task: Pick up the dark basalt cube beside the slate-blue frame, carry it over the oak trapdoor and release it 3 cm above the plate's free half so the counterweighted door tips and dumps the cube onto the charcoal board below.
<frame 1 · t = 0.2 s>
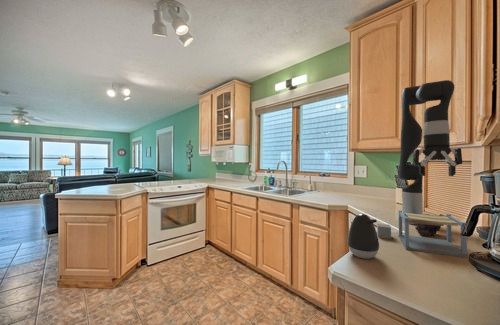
hand: (436, 175, 82), 29 cm above the countertop, fingers open, 8 cm apart
rock: (427, 234, 102), on the countertop
trapdoor: (427, 221, 88), point 10 cm above the countertop, hinge at 0.0°
penguin figurine: (363, 256, 78), on the countertop
basalt cube: (383, 236, 99), on the countertop
trapdoor frame: (426, 242, 90), on the countertop
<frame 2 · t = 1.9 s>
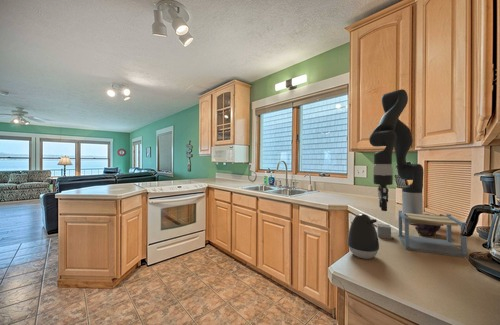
hand: (383, 209, 99), 12 cm above the countertop, fingers open, 8 cm apart
nothing on the countertop moved.
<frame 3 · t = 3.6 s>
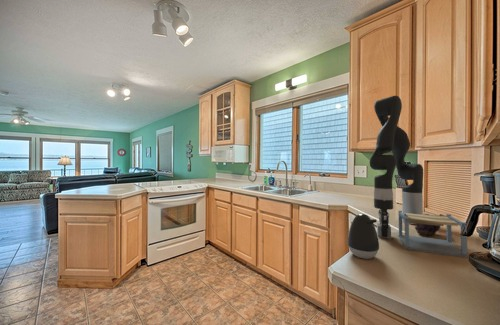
hand: (383, 234, 99), 1 cm above the countertop, fingers closed on basalt cube, 5 cm apart
basalt cube: (383, 236, 99), on the countertop, touching gripper
everything else where it was.
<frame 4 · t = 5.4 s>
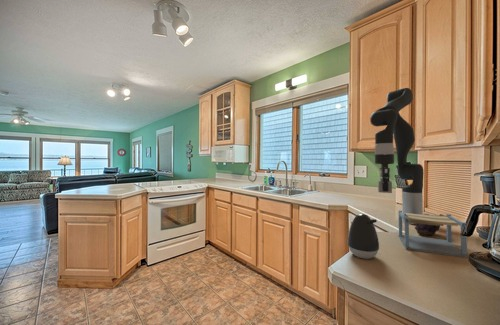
hand: (384, 190, 98), 21 cm above the countertop, fingers closed on basalt cube, 5 cm apart
basalt cube: (384, 192, 98), point 20 cm above the countertop, touching gripper
everything else where it was.
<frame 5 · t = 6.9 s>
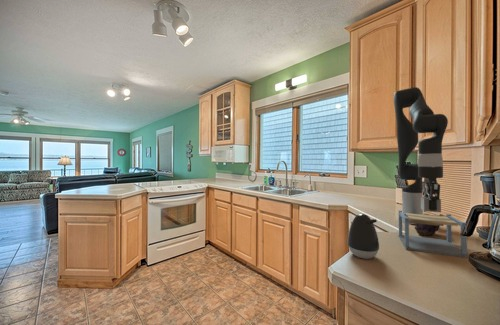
hand: (430, 208, 84), 16 cm above the countertop, fingers closed on basalt cube, 5 cm apart
basalt cube: (430, 210, 84), point 15 cm above the countertop, touching gripper
everything else where it was.
when the fingers open (14 cm above the countertop, at t = 7.5 s): basalt cube drops 7 cm and tips over, resting on trapdoor.
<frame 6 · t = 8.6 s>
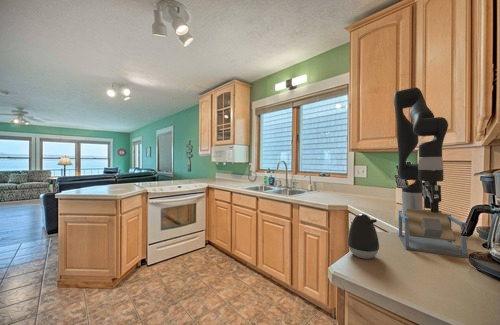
hand: (431, 210, 84), 15 cm above the countertop, fingers open, 8 cm apart
trapdoor: (426, 224, 89), point 8 cm above the countertop, hinge at -41.5°, touching basalt cube
basalt cube: (430, 231, 85), point 6 cm above the countertop, tilted 42°, touching trapdoor
everything else where it was.
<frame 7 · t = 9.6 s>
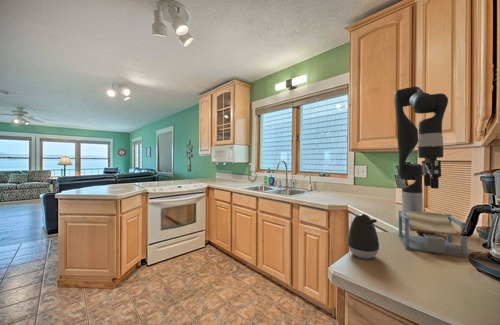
hand: (431, 187, 84), 24 cm above the countertop, fingers open, 8 cm apart
trapdoor: (427, 223, 88), point 8 cm above the countertop, hinge at -22.9°
basalt cube: (431, 241, 83), point 3 cm above the countertop, tilted 90°, touching trapdoor frame
everything else where it was.
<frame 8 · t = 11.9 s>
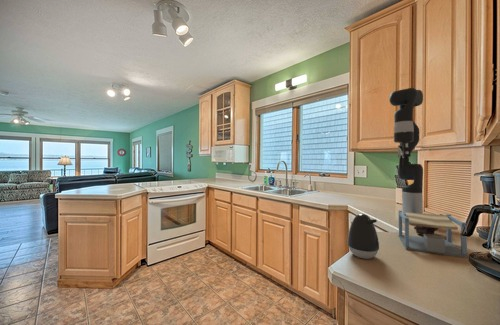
hand: (404, 166, 100), 32 cm above the countertop, fingers open, 8 cm apart
trapdoor: (427, 222, 88), point 9 cm above the countertop, hinge at -8.8°
everything else where it was.
at the end: basalt cube point 3.3 cm above the countertop; basalt cube inside the target area on the trapdoor frame (2.0 cm from its centre), point 3.3 cm above the trapdoor frame's base; the gripper is holding nothing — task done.
